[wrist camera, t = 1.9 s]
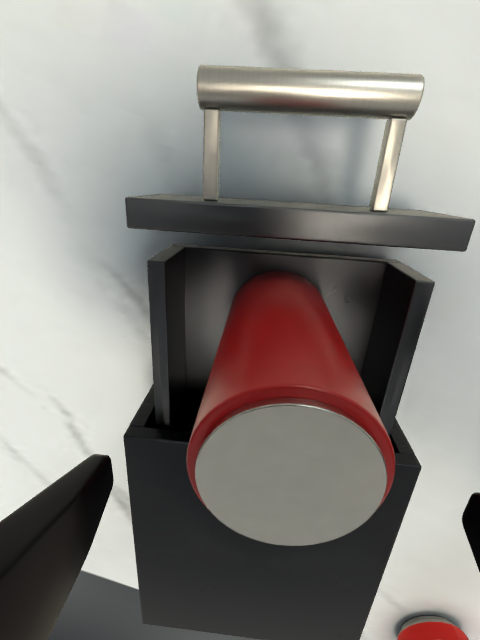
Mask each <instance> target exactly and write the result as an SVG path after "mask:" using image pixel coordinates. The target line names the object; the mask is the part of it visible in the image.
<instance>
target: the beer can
mask: <svg viewBox="0 0 480 640" xmlns="http://www.w3.org/2000/svg"><path fill="white" fill-rule="evenodd" d="M397 640H468V638H467V636H466V635H465V633H464V632H463V631H462V630H461V629H460V628H459V627H457V626H456V625H454V624H452V623H451V622H450V621H449V620H447V619H445V618H442V617H438V616H420V617H416V618H413V619H410V620H409V621H407V622H405V623H404V625H403V626H402V627H401V631H400V632H399V634H398V639H397Z"/></svg>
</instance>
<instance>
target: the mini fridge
mask: <svg viewBox="0 0 480 640" xmlns="http://www.w3.org/2000/svg"><path fill="white" fill-rule="evenodd" d="M191 434H192V432H185V431H175V430H165V429H156V420H155V400H154V384H153V385H152V387H151V389H150V391H149V392H148V394H147V396H146V397H145V399H144V401H143V403H142V404H141V406H140V408H139V410H138V411H137V413H136V415H135V416H134V418H133V420H132V422H131V423H130V426H129V427H128V429H127V431H126V433H125V434H124V446H125V456H126V466H127V475H128V485H129V495H130V505H131V515H132V525H133V535H134V545H135V554H136V564H137V574H138V584H139V593H140V604H141V614H142V623H143V624H150V625H158V626H165V627H173V628H181V629H188V630H195V631H202V632H210V633H218V634H225V635H232V636H240V637H247V638H255V639H262V640H360V637H361V634H362V631H363V629H364V626H365V623H366V620H367V618H368V615H369V612H370V609H371V606H372V604H373V601H374V598H375V595H376V593H377V590H378V587H379V584H380V581H381V579H382V576H383V573H384V570H385V568H386V565H387V562H388V559H389V556H390V554H391V551H392V548H393V545H394V542H395V540H396V537H397V534H398V531H399V529H400V526H401V523H402V520H403V517H404V515H405V512H406V509H407V506H408V504H409V501H410V498H411V495H412V492H413V490H414V487H415V484H416V481H417V478H418V476H419V473H420V470H421V465H420V463H419V461H418V459H417V458H416V456H415V454H414V452H413V450H412V448H411V446H410V444H409V442H408V441H407V439H406V437H405V435H404V433H403V431H402V430H401V428H400V426H399V424H398V422H397V420H396V418H395V420H394V423H393V426H392V430H391V433H390V437H389V438H390V440H391V443H392V446H393V449H394V455H395V474H394V478H393V483H392V486H391V488H390V490H389V493H388V495H387V496H386V498H385V499H384V501H383V503H382V504H381V505H380V506H379V507H378V508H377V510H376V511H375V512H374V513H373V514H372V516H371V517H370V518H369V519H368V520H367V521H365V522H364V523H363V524H362V525H361V526H359V527H358V528H356V529H355V530H353V531H351V532H350V533H348V534H346V535H344V536H341V537H339V538H336V539H334V540H330V541H327V542H324V543H318V544H313V545H303V546H286V545H276V544H270V543H265V542H261V541H257V540H254V539H252V538H249V537H246V536H244V535H242V534H240V533H237V532H236V531H234V530H232V529H231V528H229V527H227V526H226V525H225V524H223V523H222V522H221V521H219V520H218V519H217V518H216V517H215V516H214V515H213V514H212V513H211V511H210V510H209V509H208V508H207V507H206V506H205V505H204V504H203V503H202V501H201V500H200V499H199V497H198V496H197V494H196V493H195V491H194V489H193V487H192V484H191V482H190V479H189V475H188V471H187V462H186V457H187V448H188V444H189V440H190V437H191Z"/></svg>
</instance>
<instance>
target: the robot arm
mask: <svg viewBox="0 0 480 640" xmlns="http://www.w3.org/2000/svg"><path fill="white" fill-rule="evenodd" d="M112 486H113V472H112V464H111V459H110V457H109V456H108V455H100V454H94V455H91V456H90V457H88V458H87V459H86V460H84V461H83V462H82V463H80V464H79V465H77V466H76V467H75V468H73V469H72V470H71V471H69V472H68V473H67V474H65V475H64V476H62V477H61V478H60V479H58V480H57V481H56V482H54V483H53V484H51V485H50V486H49V487H47V488H46V489H45V490H43V491H42V492H40V493H39V494H38V495H36V496H35V497H34V498H32V499H31V500H29V501H28V502H27V503H25V504H24V505H23V506H21V507H20V508H18V509H17V510H16V511H14V512H13V513H12V514H10V515H9V516H8V517H6V518H5V519H3V520H2V521H1V522H0V640H48V638H49V636H50V634H51V631H52V629H53V627H54V625H55V623H56V621H57V619H58V617H59V614H60V612H61V610H62V608H63V606H64V604H65V602H66V600H67V598H68V595H69V593H70V591H71V589H72V587H73V585H74V583H75V580H76V578H77V576H78V574H79V572H80V570H81V568H82V566H83V564H84V561H85V559H86V557H87V555H88V552H89V550H90V547H91V545H92V542H93V539H94V537H95V534H96V531H97V528H98V525H99V523H100V520H101V517H102V514H103V512H104V509H105V506H106V503H107V501H108V498H109V495H110V492H111V490H112ZM462 523H463V527H464V530H465V533H466V535H467V538H468V541H469V544H470V547H471V549H472V552H473V555H474V558H475V560H476V563H477V566H478V569H479V572H480V493H474V494H472V495H471V497H470V499H469V501H468V504H467V506H466V508H465V510H464V513H463V516H462Z"/></svg>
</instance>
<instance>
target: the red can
mask: <svg viewBox="0 0 480 640" xmlns="http://www.w3.org/2000/svg"><path fill="white" fill-rule="evenodd" d="M186 462H187V471H188V475H189V479H190V482H191V484H192V487H193V489H194V491H195V493H196V494H197V496H198V497H199V499H200V500H201V501H202V503H203V504H204V505H205V506H206V507H207V508H208V509H209V510H210V511H211V513H212V514H213V515H214V516H215V517H216V518H217V519H218V520H219V521H221V522H222V523H223V524H225V525H226V526H227V527H229V528H231V529H232V530H234V531H236V532H237V533H240V534H242V535H244V536H246V537H249V538H252V539H254V540H257V541H261V542H265V543H270V544H276V545H286V546H303V545H313V544H318V543H324V542H327V541H330V540H334V539H336V538H339V537H341V536H344V535H346V534H348V533H350V532H351V531H353V530H355V529H356V528H358V527H359V526H361V525H362V524H363V523H364V522H365V521H367V520H368V519H369V518H370V517H371V516H372V514H373V513H374V512H375V511H376V510H377V508H378V507H379V506H380V505H381V504H382V503H383V501H384V499H385V498H386V496H387V495H388V493H389V490H390V488H391V486H392V483H393V478H394V474H395V455H394V449H393V446H392V443H391V440H390V438H389V436H388V434H387V432H386V429H385V427H384V425H383V423H382V421H381V419H380V417H379V415H378V413H377V411H376V408H375V406H374V404H373V402H372V400H371V398H370V396H369V394H368V392H367V390H366V387H365V385H364V383H363V381H362V379H361V377H360V375H359V373H358V371H357V369H356V367H355V364H354V362H353V360H352V358H351V356H350V354H349V352H348V350H347V348H346V346H345V343H344V341H343V339H342V337H341V335H340V333H339V331H338V329H337V327H336V325H335V322H334V320H333V318H332V316H331V314H330V312H329V310H328V308H327V306H326V304H325V302H324V299H323V297H322V296H321V294H320V292H319V291H318V289H317V288H316V287H315V286H314V285H313V284H312V283H311V282H310V281H308V280H307V279H306V278H304V277H302V276H300V275H298V274H295V273H291V272H286V271H271V272H266V273H262V274H260V275H257V276H255V277H253V278H252V279H250V280H249V281H247V282H246V283H245V284H244V285H243V286H242V287H241V288H240V289H239V291H238V292H237V293H236V295H235V297H234V299H233V302H232V304H231V308H230V311H229V314H228V317H227V321H226V324H225V327H224V330H223V334H222V337H221V340H220V343H219V346H218V350H217V353H216V356H215V359H214V363H213V366H212V369H211V372H210V376H209V379H208V382H207V385H206V388H205V392H204V395H203V398H202V401H201V405H200V408H199V411H198V414H197V418H196V421H195V424H194V427H193V431H192V434H191V437H190V440H189V444H188V448H187V457H186Z"/></svg>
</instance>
